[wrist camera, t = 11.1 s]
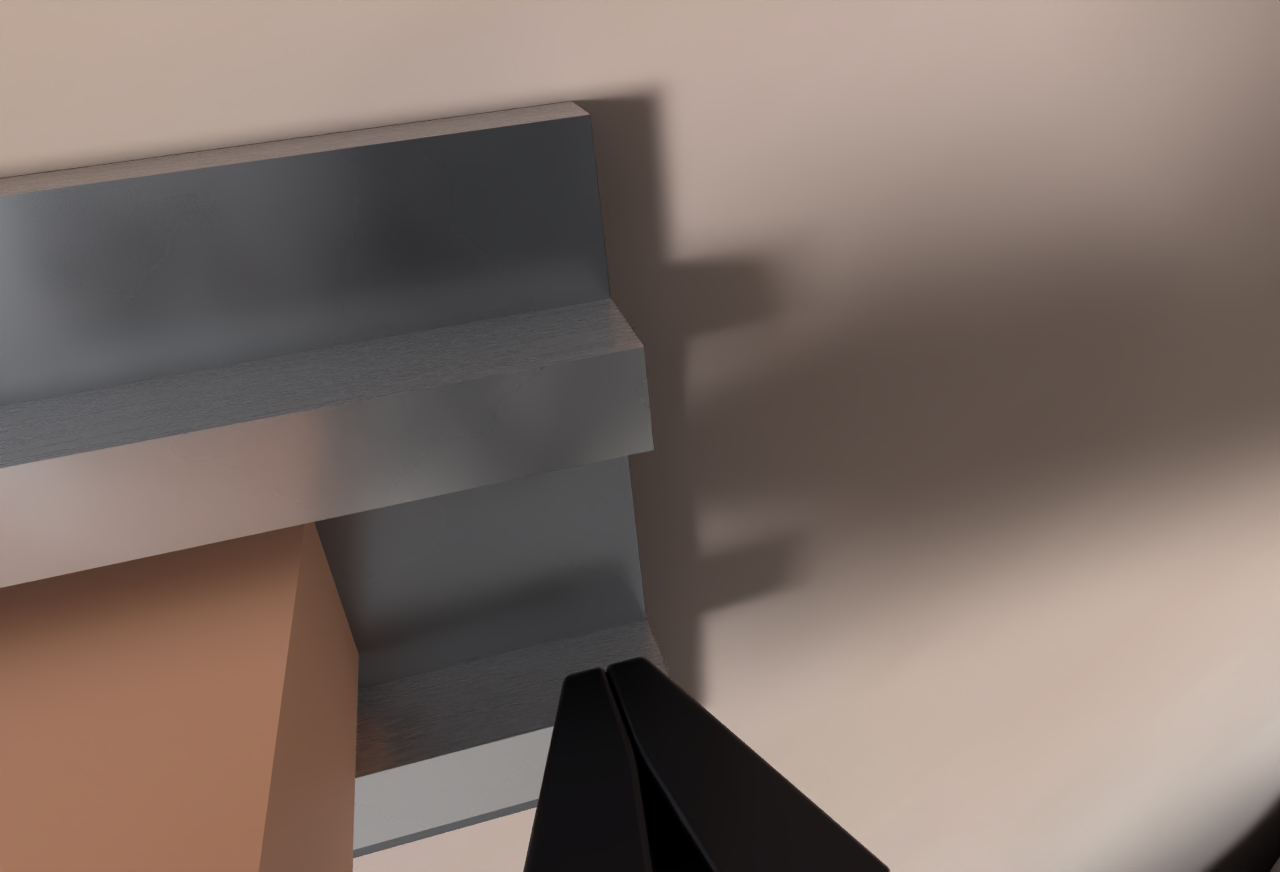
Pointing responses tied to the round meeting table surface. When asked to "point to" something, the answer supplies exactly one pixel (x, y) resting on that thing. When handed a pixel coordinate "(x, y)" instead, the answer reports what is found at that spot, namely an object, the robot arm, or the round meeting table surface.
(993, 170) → the round meeting table surface
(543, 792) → the robot arm
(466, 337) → the track base
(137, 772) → the tan flat rectangular block
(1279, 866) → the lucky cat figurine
